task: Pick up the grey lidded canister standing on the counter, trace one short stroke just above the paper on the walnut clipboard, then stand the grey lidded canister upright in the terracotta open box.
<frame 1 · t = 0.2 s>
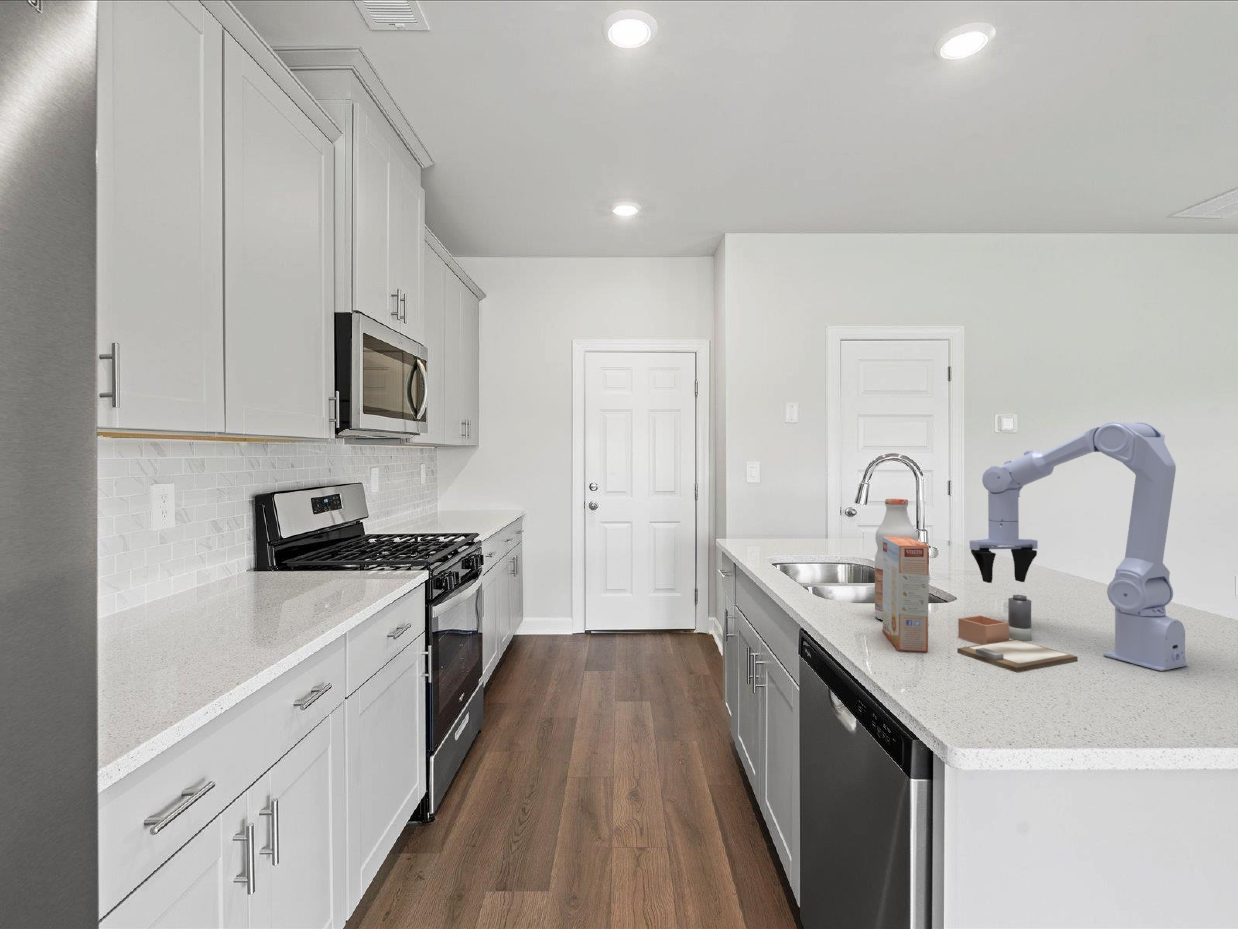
hand: (1003, 581, 139), 10 cm above the worktop, tool pointing down, fingers open, 7 cm apart
clipboard: (1016, 656, 118), on the worktop
grey lidded canister: (1019, 638, 130), on the worktop
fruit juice: (896, 620, 145), on the worktop
cracker box: (904, 643, 127), on the worktop
terracotta open box: (983, 639, 129), on the worktop
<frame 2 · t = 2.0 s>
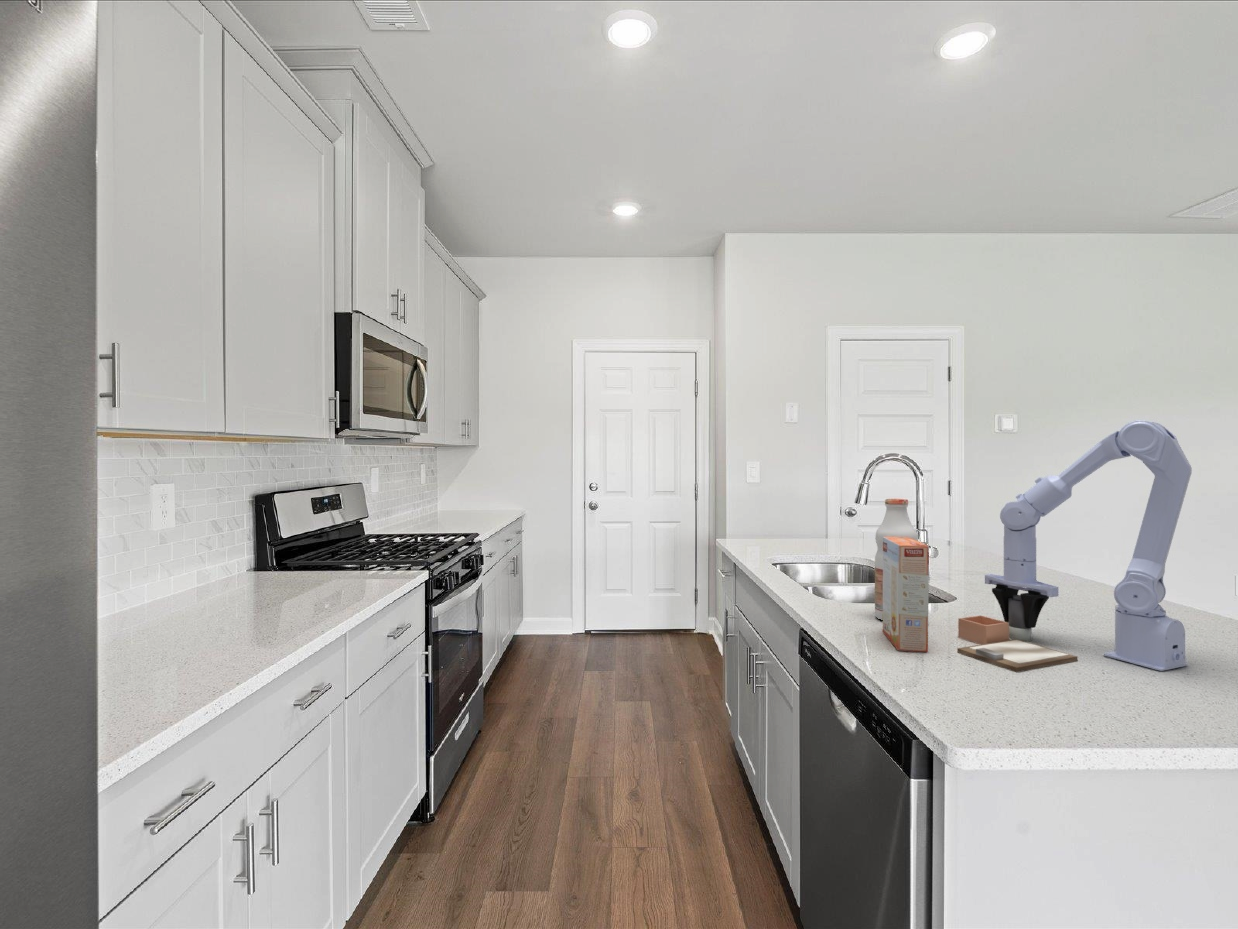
hand: (1019, 624, 130), 3 cm above the worktop, tool pointing down, fingers closed on grey lidded canister, 4 cm apart
grey lidded canister: (1019, 638, 130), on the worktop, touching gripper
everything else where it was.
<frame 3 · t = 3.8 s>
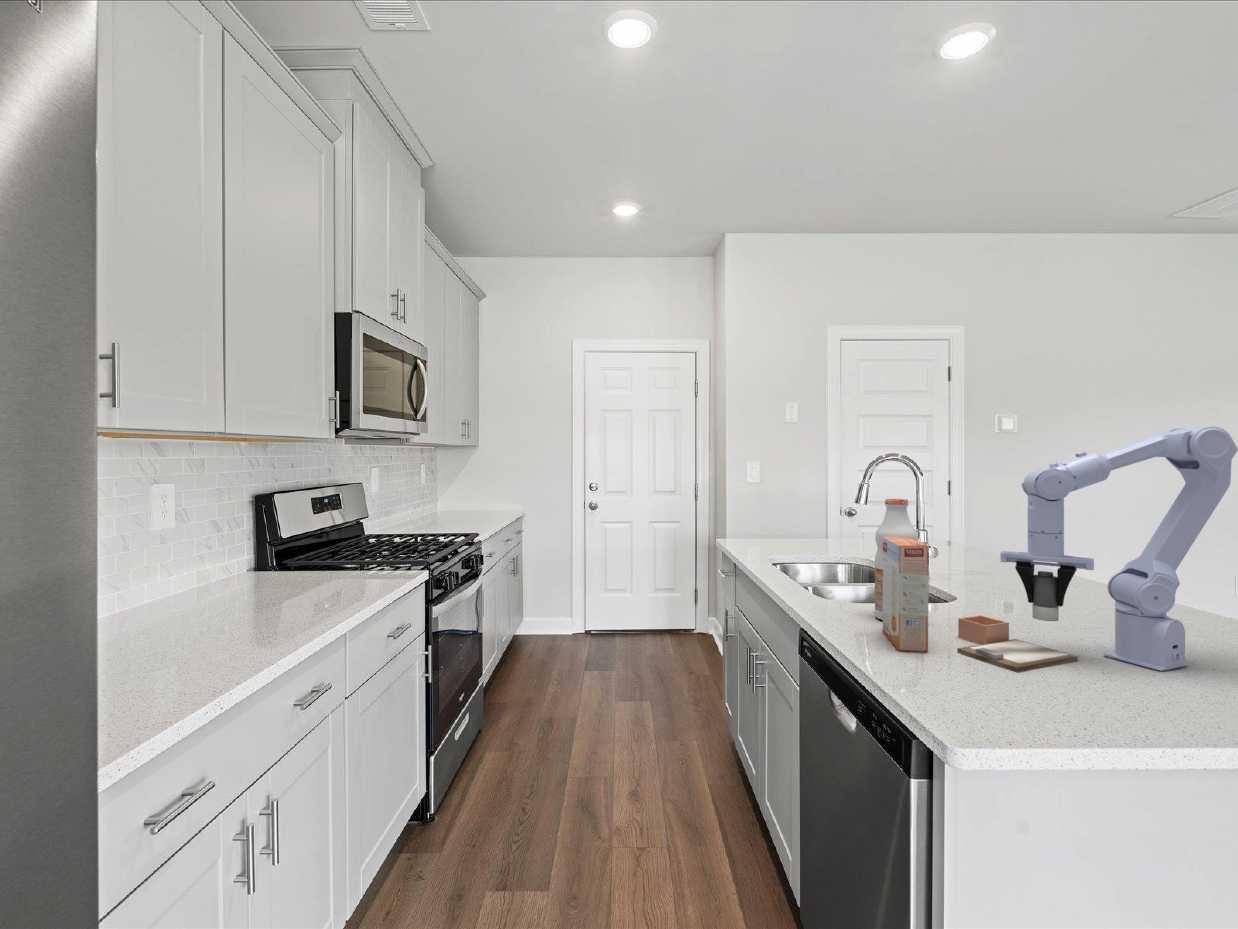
hand: (1045, 603, 118), 10 cm above the worktop, tool pointing down, fingers closed on grey lidded canister, 4 cm apart
grey lidded canister: (1045, 618, 118), point 7 cm above the worktop, touching gripper
everything else where it was.
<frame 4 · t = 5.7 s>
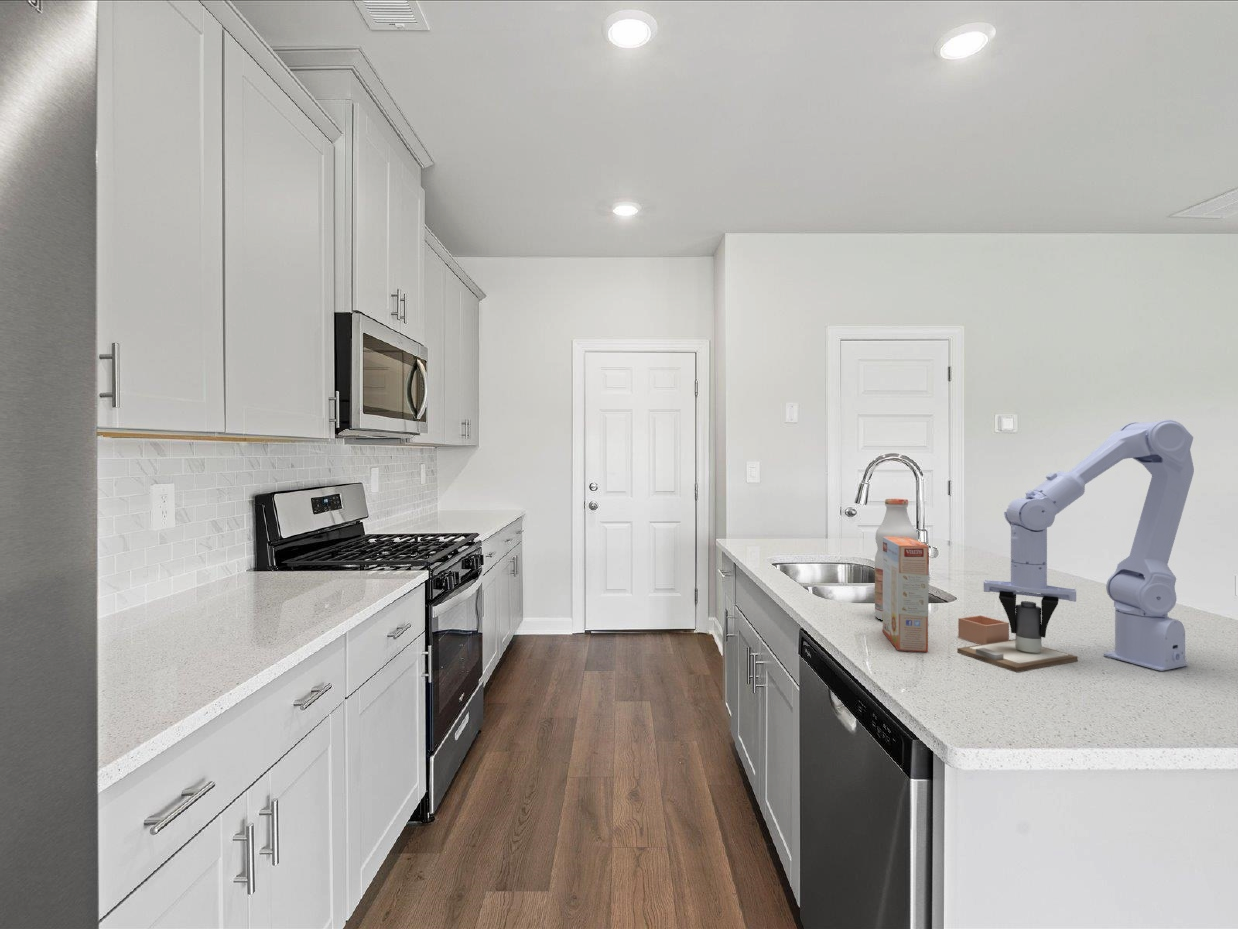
hand: (1028, 634, 118), 4 cm above the worktop, tool pointing down, fingers closed on grey lidded canister, 4 cm apart
grey lidded canister: (1028, 649, 118), point 1 cm above the worktop, touching gripper
everything else where it was.
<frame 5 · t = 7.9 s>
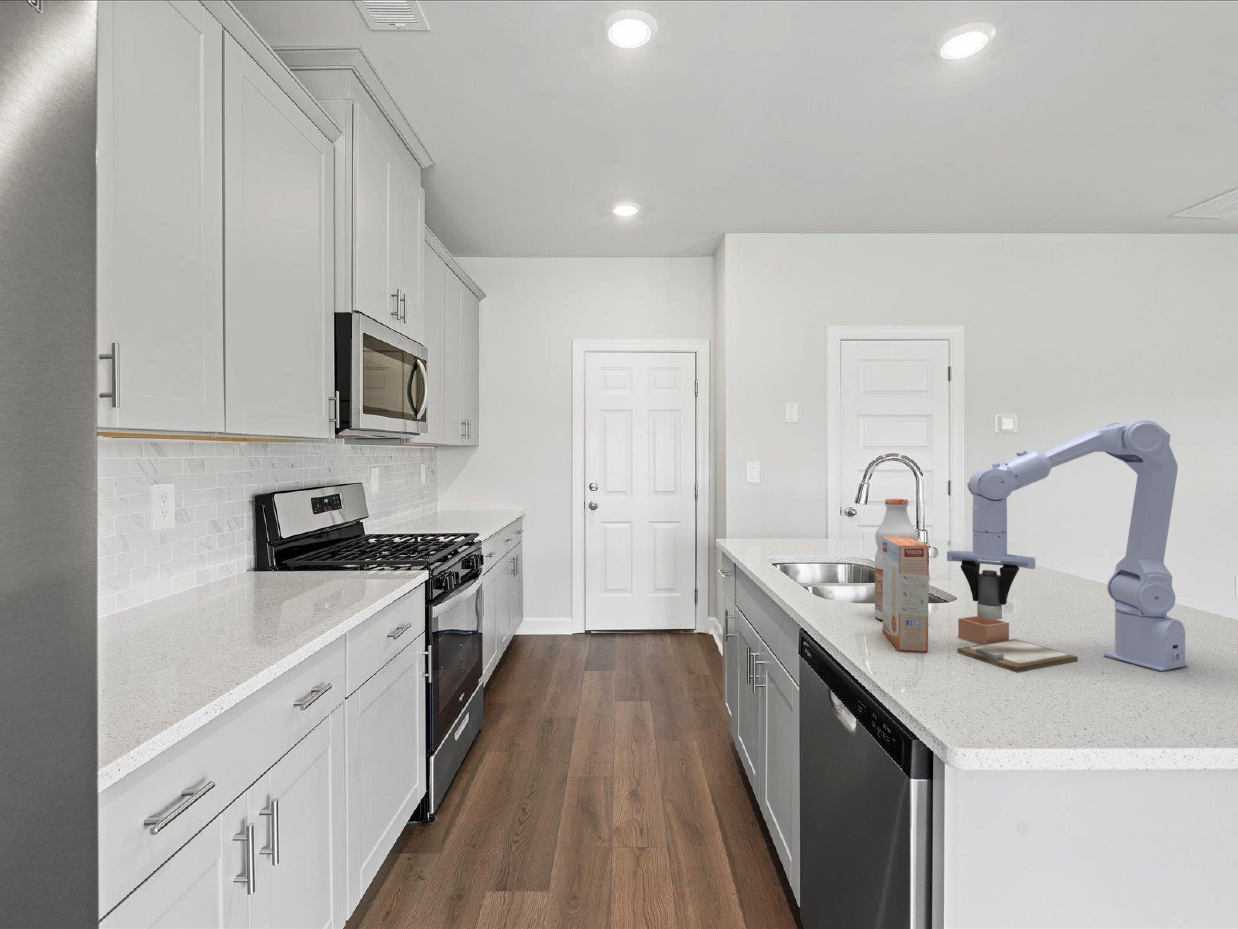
hand: (989, 602, 120), 10 cm above the worktop, tool pointing down, fingers closed on grey lidded canister, 4 cm apart
grey lidded canister: (989, 616, 120), point 7 cm above the worktop, touching gripper
everything else where it was.
when the fingers open (5 cm above the worktop, at t = 9.8 s): grey lidded canister drops 2 cm, resting on terracotta open box.
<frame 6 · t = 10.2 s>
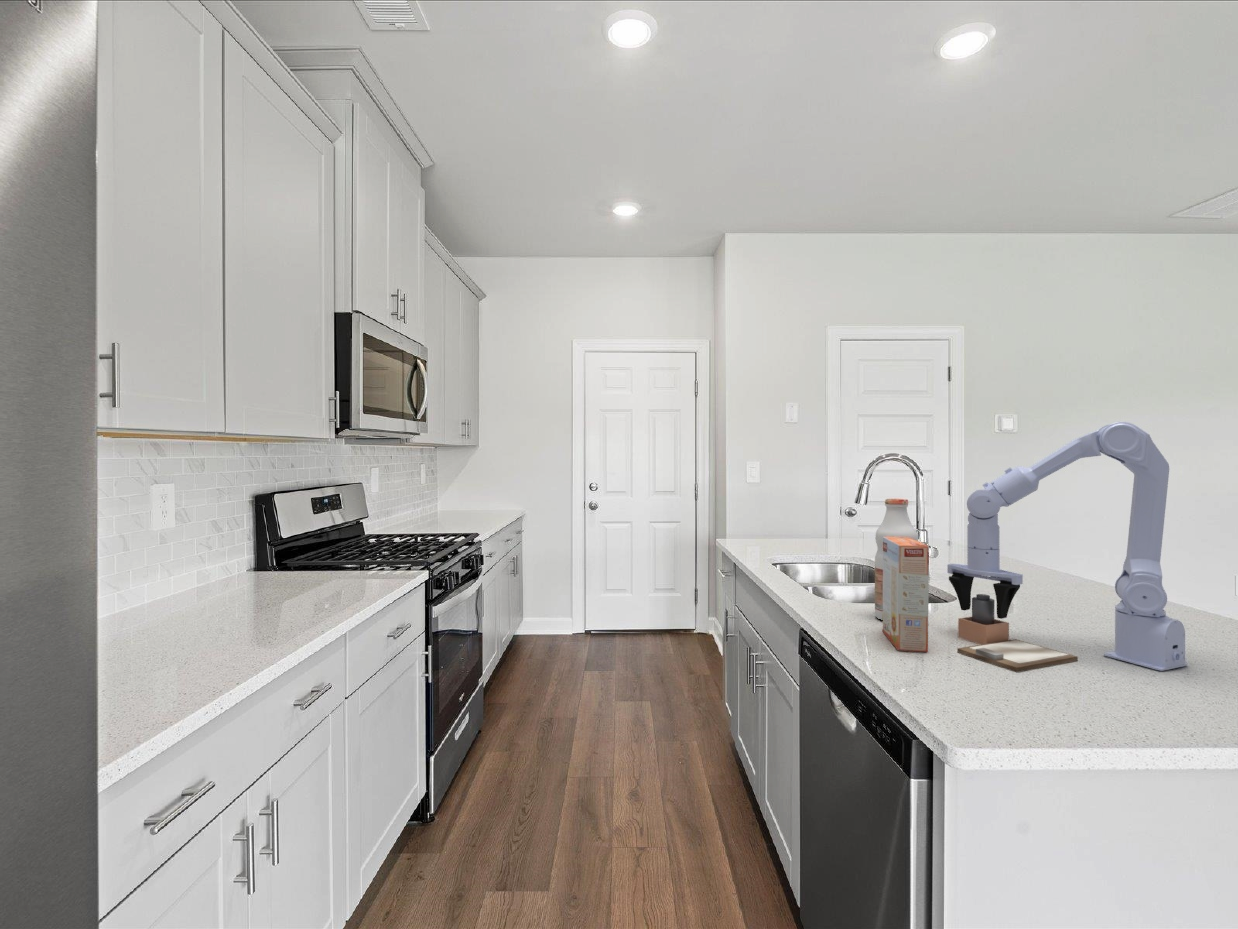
hand: (983, 613, 128), 5 cm above the worktop, tool pointing down, fingers open, 7 cm apart
grey lidded canister: (983, 638, 128), resting on terracotta open box
everything else where it was.
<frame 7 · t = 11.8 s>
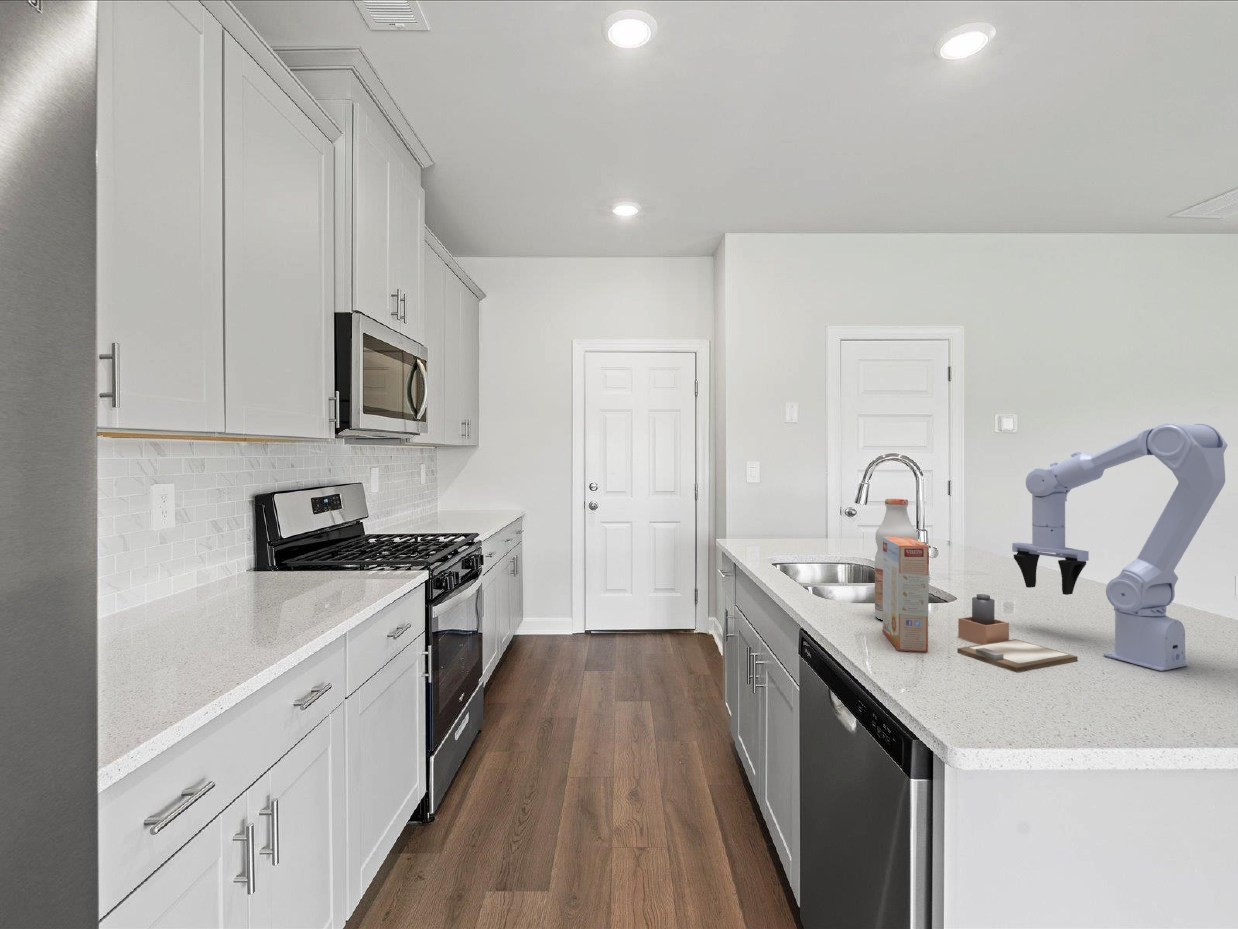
hand: (1048, 590, 131), 9 cm above the worktop, tool pointing down, fingers open, 7 cm apart
nothing on the worktop moved.
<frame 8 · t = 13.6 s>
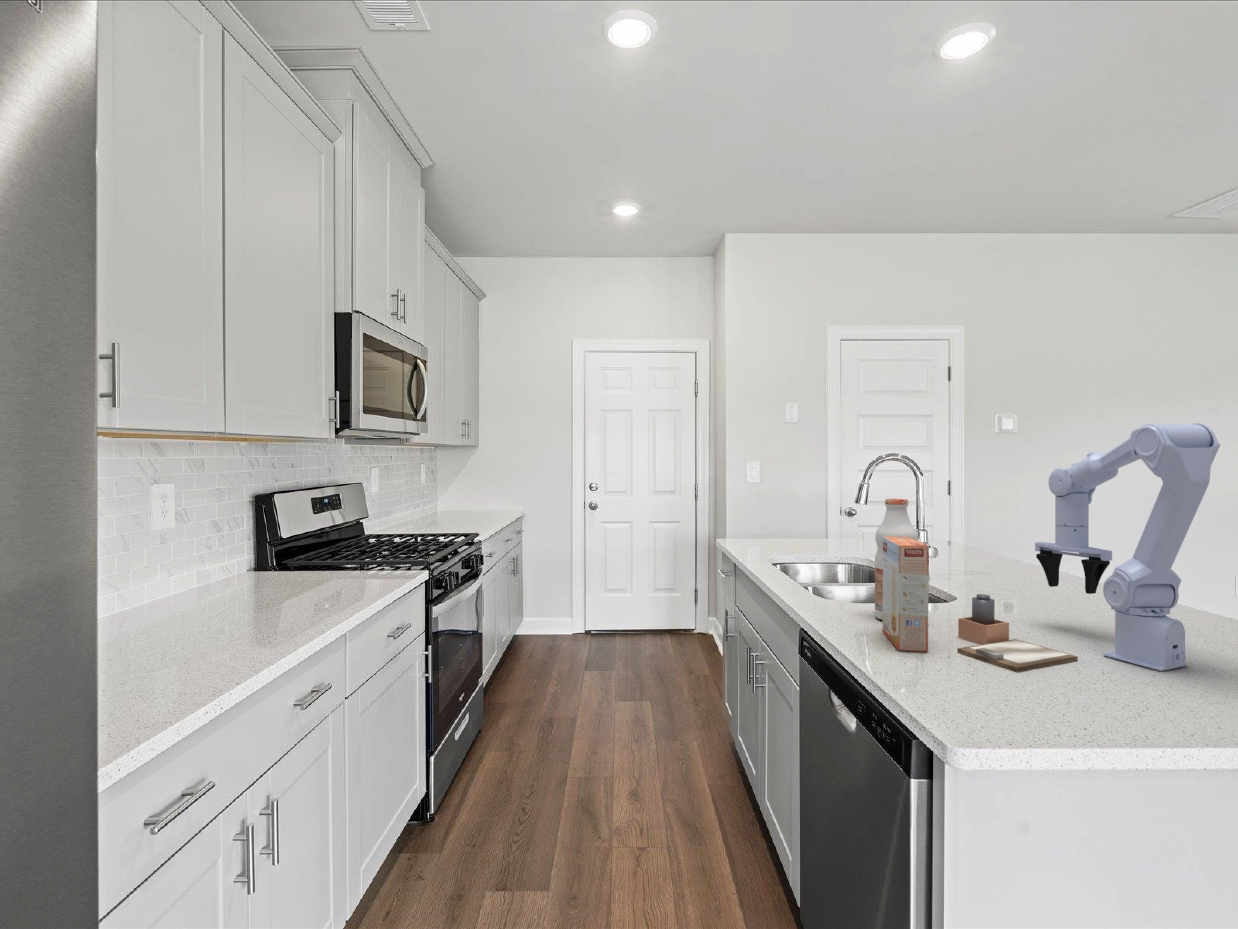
hand: (1071, 589, 132), 9 cm above the worktop, tool pointing down, fingers open, 7 cm apart
nothing on the worktop moved.
at the end: grey lidded canister 0.1 cm off-centre on the terracotta open box, point 0.4 cm above the terracotta open box's base; grey lidded canister tilted 0°; the gripper is holding nothing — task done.
